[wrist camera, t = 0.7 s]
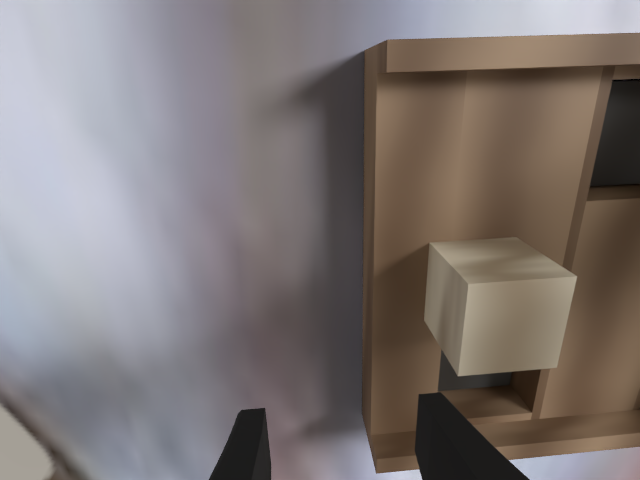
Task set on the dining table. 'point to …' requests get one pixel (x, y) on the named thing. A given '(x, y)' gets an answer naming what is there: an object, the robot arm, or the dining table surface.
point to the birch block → (496, 305)
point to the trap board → (504, 229)
